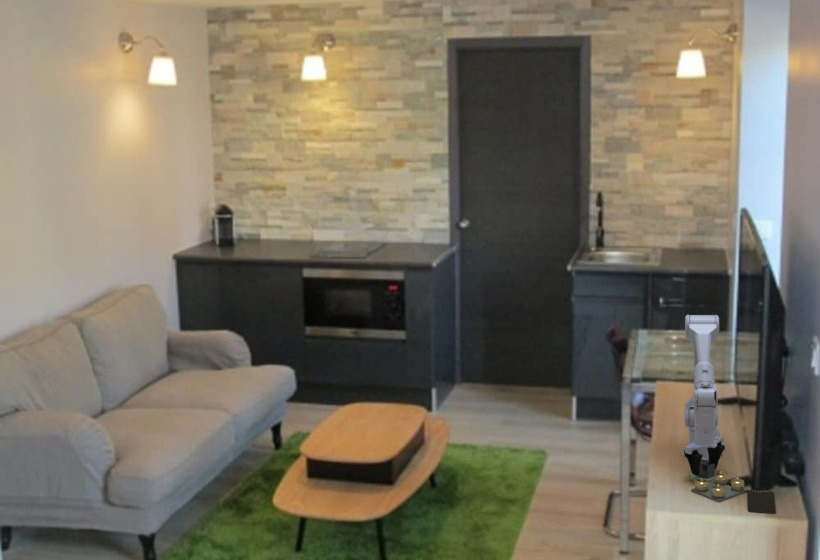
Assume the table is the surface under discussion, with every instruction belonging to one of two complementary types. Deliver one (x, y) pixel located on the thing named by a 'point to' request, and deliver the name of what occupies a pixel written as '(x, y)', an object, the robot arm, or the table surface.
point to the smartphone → (761, 502)
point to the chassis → (719, 487)
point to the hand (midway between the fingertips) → (704, 471)
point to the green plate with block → (705, 471)
